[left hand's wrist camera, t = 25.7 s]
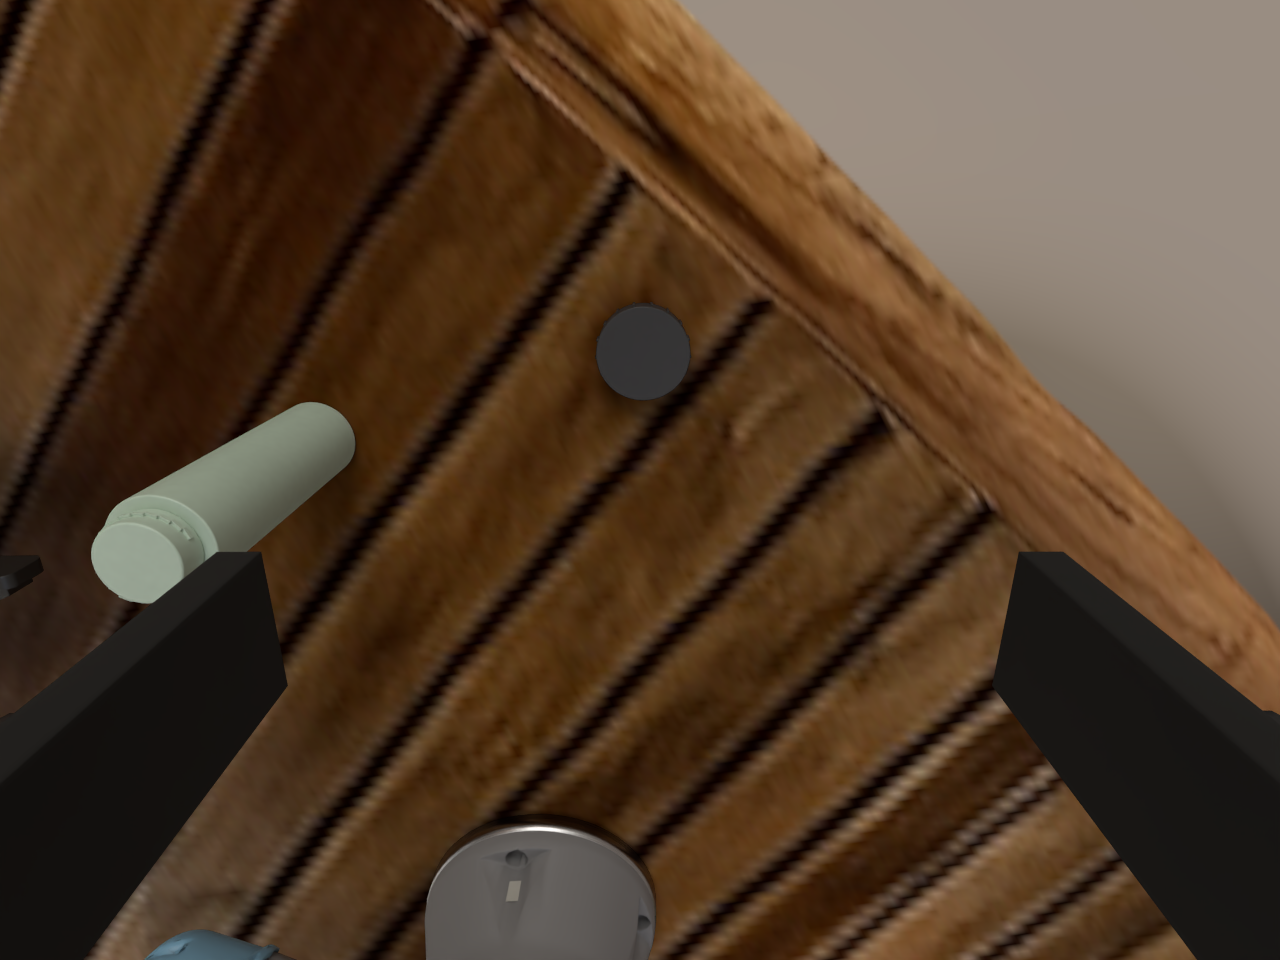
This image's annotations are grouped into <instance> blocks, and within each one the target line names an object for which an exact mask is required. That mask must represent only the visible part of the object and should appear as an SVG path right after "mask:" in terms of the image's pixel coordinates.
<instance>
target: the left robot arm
mask: <svg viewBox="0 0 1280 960" xmlns="http://www.w3.org/2000/svg"><path fill="white" fill-rule="evenodd" d="M287 686H288V685H287V680H286V675H285V670H284V665H283V659H282V654H281V649H280V644H279V639H278V634H277V629H276V624H275V619H274V614H273V609H272V604H271V599H270V594H269V589H268V584H267V579H266V574H265V569H264V564H263V559H262V554H261V552H216V553H215V554H213V555H212V556H211V557H210V558H208V559H207V560H206V561H205V562H203V563H202V564H201V565H200V566H198V567H197V568H196V569H195V570H193V571H192V572H191V573H190V574H188V575H187V576H186V577H185V578H183V579H182V580H181V581H180V582H178V583H177V584H176V585H175V586H173V587H172V588H171V589H170V590H168V591H167V592H166V593H165V594H163V595H162V596H161V597H159V598H158V599H157V600H156V601H154V602H153V603H152V604H151V605H149V606H148V607H147V608H146V609H144V610H143V611H142V612H141V613H139V614H138V615H137V616H136V617H134V618H133V619H132V620H131V621H129V622H128V623H127V624H126V625H124V626H123V627H122V628H121V629H119V630H118V631H117V632H116V633H114V634H113V635H112V636H111V637H109V638H108V639H107V640H106V641H104V642H103V643H102V644H101V645H99V646H98V647H97V648H96V649H94V650H93V651H92V652H90V653H89V654H88V655H87V656H85V657H84V658H83V659H82V660H80V661H79V662H78V663H77V664H75V665H74V666H73V667H72V668H70V669H69V670H68V671H67V672H65V673H64V674H63V675H62V676H60V677H59V678H58V679H57V680H55V681H54V682H53V683H52V684H50V685H49V686H48V687H47V688H45V689H44V690H43V691H42V692H40V693H39V694H38V695H37V696H35V697H34V698H33V699H32V700H30V701H29V702H28V703H27V704H25V705H24V706H23V707H21V708H20V709H19V710H18V711H16V712H15V713H9V714H7V715H5V716H3V717H2V718H0V960H83V959H84V958H85V956H86V955H87V954H88V952H89V951H90V950H91V948H92V947H93V946H94V944H95V943H96V941H97V940H98V939H99V937H100V936H101V935H102V933H103V932H104V931H105V929H106V928H107V927H108V925H109V924H110V923H111V921H112V920H113V919H114V917H115V916H116V915H117V913H118V912H119V911H120V909H121V908H122V907H123V905H124V904H125V903H126V901H127V900H128V899H129V897H130V896H131V895H132V893H133V892H134V891H135V889H136V888H137V887H138V885H139V884H140V883H141V881H142V880H143V879H144V877H145V876H146V875H147V873H148V872H149V871H150V869H151V868H152V867H153V865H154V864H155V863H156V861H157V860H158V859H159V857H160V856H161V855H162V853H163V852H164V851H165V849H166V848H167V847H168V845H169V844H170V843H171V841H172V840H173V838H174V837H175V836H176V834H177V833H178V832H179V830H180V829H181V828H182V826H183V825H184V824H185V822H186V821H187V820H188V818H189V817H190V816H191V814H192V813H193V812H194V810H195V809H196V808H197V806H198V805H199V804H200V802H201V801H202V800H203V798H204V797H205V796H206V794H207V793H208V792H209V790H210V789H211V788H212V786H213V785H214V784H215V782H216V781H217V780H218V778H219V777H220V776H221V774H222V773H223V772H224V770H225V769H226V768H227V766H228V765H229V764H230V762H231V761H232V760H233V758H234V757H235V756H236V754H237V753H238V752H239V750H240V749H241V748H242V746H243V745H244V744H245V742H246V741H247V740H248V738H249V737H250V735H251V734H252V733H253V731H254V730H255V729H256V727H257V726H258V725H259V723H260V722H261V721H262V719H263V718H264V717H265V715H266V714H267V713H268V711H269V710H270V709H271V707H272V706H273V705H274V703H275V702H276V701H277V699H278V698H279V697H280V695H281V694H282V693H283V691H284V690H285V689H286V687H287ZM992 686H993V687H994V689H995V690H996V691H997V693H998V694H999V695H1000V697H1001V698H1002V699H1003V701H1004V702H1005V703H1006V705H1007V706H1008V707H1009V709H1010V710H1011V711H1012V713H1013V714H1014V715H1015V717H1016V718H1017V719H1018V721H1019V722H1020V723H1021V725H1022V726H1023V727H1024V729H1025V730H1026V731H1027V733H1028V734H1029V736H1030V737H1031V738H1032V740H1033V741H1034V742H1035V744H1036V745H1037V746H1038V748H1039V749H1040V750H1041V752H1042V753H1043V754H1044V756H1045V757H1046V758H1047V760H1048V761H1049V762H1050V764H1051V765H1052V766H1053V768H1054V769H1055V770H1056V772H1057V773H1058V774H1059V776H1060V777H1061V778H1062V780H1063V781H1064V782H1065V784H1066V785H1067V786H1068V788H1069V789H1070V790H1071V792H1072V793H1073V794H1074V796H1075V797H1076V798H1077V800H1078V801H1079V802H1080V804H1081V805H1082V806H1083V808H1084V809H1085V810H1086V812H1087V813H1088V814H1089V816H1090V817H1091V818H1092V820H1093V821H1094V822H1095V824H1096V825H1097V826H1098V828H1099V829H1100V830H1101V832H1102V833H1103V834H1104V836H1105V837H1106V838H1107V840H1108V841H1109V843H1110V844H1111V845H1112V847H1113V848H1114V849H1115V851H1116V852H1117V853H1118V855H1119V856H1120V857H1121V859H1122V860H1123V861H1124V863H1125V864H1126V865H1127V867H1128V868H1129V869H1130V871H1131V872H1132V873H1133V875H1134V876H1135V877H1136V879H1137V880H1138V881H1139V883H1140V884H1141V885H1142V887H1143V888H1144V889H1145V891H1146V892H1147V893H1148V895H1149V896H1150V897H1151V899H1152V900H1153V901H1154V903H1155V904H1156V905H1157V907H1158V908H1159V909H1160V911H1161V912H1162V913H1163V915H1164V916H1165V917H1166V919H1167V920H1168V921H1169V923H1170V924H1171V925H1172V927H1173V928H1174V929H1175V931H1176V932H1177V933H1178V935H1179V936H1180V937H1181V939H1182V940H1183V941H1184V943H1185V944H1186V946H1187V947H1188V948H1189V950H1190V951H1191V952H1192V954H1193V955H1194V956H1195V958H1196V959H1197V960H1280V715H1279V714H1277V713H1275V712H1273V711H1262V710H1261V709H1260V708H1259V707H1257V706H1256V705H1255V704H1253V703H1252V702H1251V701H1250V700H1248V699H1247V698H1246V697H1245V696H1243V695H1242V694H1241V693H1240V692H1238V691H1237V690H1236V689H1235V688H1233V687H1232V686H1231V685H1230V684H1228V683H1227V682H1226V681H1225V680H1223V679H1222V678H1221V677H1220V676H1218V675H1217V674H1216V673H1215V672H1213V671H1212V670H1211V669H1210V668H1208V667H1207V666H1206V665H1205V664H1203V663H1202V662H1201V661H1200V660H1198V659H1197V658H1196V657H1195V656H1193V655H1192V654H1191V653H1190V652H1188V651H1187V650H1186V649H1184V648H1183V647H1182V646H1181V645H1179V644H1178V643H1177V642H1176V641H1174V640H1173V639H1172V638H1171V637H1169V636H1168V635H1167V634H1166V633H1164V632H1163V631H1162V630H1161V629H1159V628H1158V627H1157V626H1156V625H1154V624H1153V623H1152V622H1151V621H1149V620H1148V619H1147V618H1146V617H1144V616H1143V615H1142V614H1141V613H1139V612H1138V611H1137V610H1136V609H1134V608H1133V607H1132V606H1131V605H1129V604H1128V603H1127V602H1126V601H1124V600H1123V599H1122V598H1121V597H1119V596H1118V595H1117V594H1115V593H1114V592H1113V591H1112V590H1110V589H1109V588H1108V587H1107V586H1105V585H1104V584H1103V583H1102V582H1100V581H1099V580H1098V579H1097V578H1095V577H1094V576H1093V575H1092V574H1090V573H1089V572H1088V571H1087V570H1085V569H1084V568H1083V567H1082V566H1080V565H1079V564H1078V563H1077V562H1075V561H1074V560H1073V559H1072V558H1070V557H1069V556H1068V555H1067V554H1065V553H1064V552H1019V554H1018V559H1017V564H1016V569H1015V574H1014V579H1013V584H1012V589H1011V594H1010V599H1009V604H1008V609H1007V614H1006V619H1005V624H1004V629H1003V634H1002V639H1001V644H1000V649H999V654H998V659H997V664H996V670H995V675H994V680H993V685H992ZM655 925H656V895H655V888H654V884H653V881H652V878H651V876H650V873H649V871H648V869H647V868H646V866H645V864H644V863H643V861H642V860H641V859H640V857H639V856H638V855H637V854H636V853H635V852H634V850H633V849H632V848H630V847H629V846H628V845H627V844H626V843H625V842H623V841H622V840H621V839H619V838H618V837H617V836H615V835H613V834H612V833H610V832H608V831H606V830H604V829H602V828H600V827H598V826H596V825H593V824H591V823H588V822H585V821H582V820H579V819H575V818H570V817H566V816H559V815H549V814H528V815H518V816H512V817H507V818H503V819H499V820H496V821H493V822H490V823H487V824H485V825H483V826H480V827H478V828H476V829H475V830H473V831H471V832H469V833H468V834H466V835H465V836H463V837H462V838H461V839H459V840H458V841H457V842H456V843H455V844H454V845H453V846H452V847H451V848H450V849H449V850H448V851H447V852H446V854H445V855H444V857H443V858H442V859H441V861H440V863H439V865H438V867H437V869H436V872H435V874H434V878H433V881H432V884H431V887H430V890H429V894H428V898H427V906H426V913H425V938H426V960H648V957H649V954H650V951H651V948H652V944H653V939H654V933H655ZM279 949H280V948H278V947H276V946H275V945H267V946H265V947H261V946H257V945H254V944H251V943H248V942H245V941H242V940H238V939H235V938H232V937H229V936H226V935H223V934H220V933H217V932H214V931H209V930H191V931H187V932H183V933H181V934H179V935H176V936H174V937H173V938H171V939H169V940H167V941H166V942H164V943H163V944H161V945H160V946H159V947H158V948H156V949H155V950H154V951H153V952H152V953H151V954H150V955H148V956H147V957H146V958H145V959H144V960H296V959H293V958H290V957H288V956H285V955H283V954H280V953H278V951H279Z"/></svg>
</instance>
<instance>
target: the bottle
mask: <svg viewBox="0 0 1280 960" xmlns="http://www.w3.org/2000/svg"><path fill="white" fill-rule="evenodd" d="M354 451H355V437H354V433H353V430H352V428H351V426H350V424H349V423H348V421H347V420H346V419H345V418H344V417H343V416H342V415H341V414H340V413H339V412H338V411H336V410H335V409H333V408H332V407H329V406H327V405H324V404H321V403H315V402H306V403H301V404H298V405H296V406H294V407H292V408H290V409H288V410H286V411H285V412H283V413H281V414H279V415H277V416H276V417H274V418H272V419H270V420H268V421H267V422H265V423H263V424H261V425H259V426H258V427H256V428H254V429H252V430H250V431H249V432H247V433H245V434H243V435H241V436H239V437H238V438H236V439H234V440H232V441H230V442H229V443H227V444H225V445H223V446H221V447H220V448H218V449H216V450H214V451H212V452H211V453H209V454H207V455H205V456H203V457H202V458H200V459H198V460H196V461H194V462H193V463H191V464H189V465H187V466H185V467H184V468H182V469H180V470H178V471H176V472H175V473H173V474H171V475H169V476H167V477H166V478H164V479H162V480H160V481H158V482H156V483H155V484H153V485H151V486H149V487H147V488H146V489H144V490H142V491H140V492H138V493H137V494H135V495H133V496H131V497H129V498H128V499H126V500H124V501H122V502H121V503H120V504H118V505H117V506H116V507H115V508H114V509H113V510H112V512H111V513H110V514H109V516H108V519H107V521H106V524H105V526H104V527H103V529H102V530H101V531H100V532H99V533H98V535H97V537H96V538H95V541H94V543H93V546H92V551H91V557H92V563H93V566H94V569H95V571H96V573H97V575H98V576H99V578H100V579H101V580H102V582H103V583H104V584H105V585H106V586H107V587H108V588H109V589H110V590H112V591H113V592H114V593H116V594H117V595H119V597H120V598H123V599H125V600H128V601H131V602H132V601H134V602H139V603H153V602H154V601H156V600H157V599H158V598H159V597H161V596H162V595H163V594H165V593H166V592H167V591H168V590H170V589H171V588H172V587H173V586H175V585H176V584H177V583H178V582H180V581H181V580H182V579H183V578H185V577H186V576H187V575H188V574H190V573H191V572H192V571H193V570H195V569H196V568H197V567H198V566H200V565H201V564H202V563H203V562H205V561H206V560H207V559H208V558H210V557H211V556H212V555H213V554H215V553H216V552H247V551H248V550H249V549H250V548H251V547H252V546H254V545H255V544H256V543H257V542H258V541H259V540H261V539H262V538H263V537H264V536H265V535H266V534H268V533H269V532H270V531H271V530H272V529H273V528H275V527H276V526H277V525H278V524H279V523H280V522H282V521H283V520H284V519H285V518H286V517H287V516H289V515H290V514H291V513H292V512H293V511H295V510H296V509H297V508H298V507H299V506H300V505H302V504H303V503H304V502H305V501H306V500H307V499H309V498H310V497H311V496H312V495H313V494H314V493H316V492H317V491H318V490H319V489H320V488H321V487H323V486H324V485H325V484H326V483H327V482H328V481H330V480H331V479H332V478H333V477H334V476H335V475H337V474H338V473H339V472H340V471H341V470H342V469H344V468H345V467H346V466H347V465H348V464H349V462H350V461H351V459H352V457H353V455H354Z"/></svg>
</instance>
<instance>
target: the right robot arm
mask: <svg viewBox="0 0 1280 960" xmlns="http://www.w3.org/2000/svg"><path fill="white" fill-rule="evenodd" d="M43 571H44V569H43V566H42V563H41V560H40V557H39V556H35V555H34V556H0V599H3V598H5V597H8V596H10V595H11V594H13V593H15V592H16V591H18V590H20V589H21V588H23V587H25V586H26V585H28V584H30V583H31V582H33V579H32V578H33V577H35V576H37V575H38V574H40V573H41V572H43Z"/></svg>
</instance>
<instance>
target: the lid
mask: <svg viewBox="0 0 1280 960" xmlns="http://www.w3.org/2000/svg"><path fill="white" fill-rule="evenodd" d="M689 340H690V338H689V336H688V335H686V332H685V330H684V328H683V326H682V321H681V320H678V319H677V318H676V317H675V316H674V315H673V314H672V313H671V312H670V311H669V309H668V308H667V309H665V308H663V307H661V306H658V305H655V304H653V302H650V303H637V304H635V302H633V304H632V305H628V306H626V307H623V308H622V309H620V310H619V308H618V309H617V311H616V313H614V314H613V315H612V316H611V317H610V318H609V319H608V321H606V320H605V322H604V327H603V328H602V331H601V333H600V336H598V337H597V340H596V341H597V342H598V343H597V349H596V356H595V358H596V359H597V364H598V368H599V371H600V374H601V376H602V377H603V378H604V380H605V381H606V383H607V384H608V385H609V386H610V387H611V388H612V389H613V390H614V391H616V392H617V393H619V394H621V395H622V396H625V397H627V398H630V399H634V400H652V399H656V398H659V397H662V396H664V395H666V394H668V393H669V392H671V391H672V390H673V389H674V388H676V387H677V386H678V384H679V383H680V382H681V381H682V379H683V378H684V376H685V375H686V372H687V369H688V366H689V362H690V358H691V354H690V345H689Z"/></svg>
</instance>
